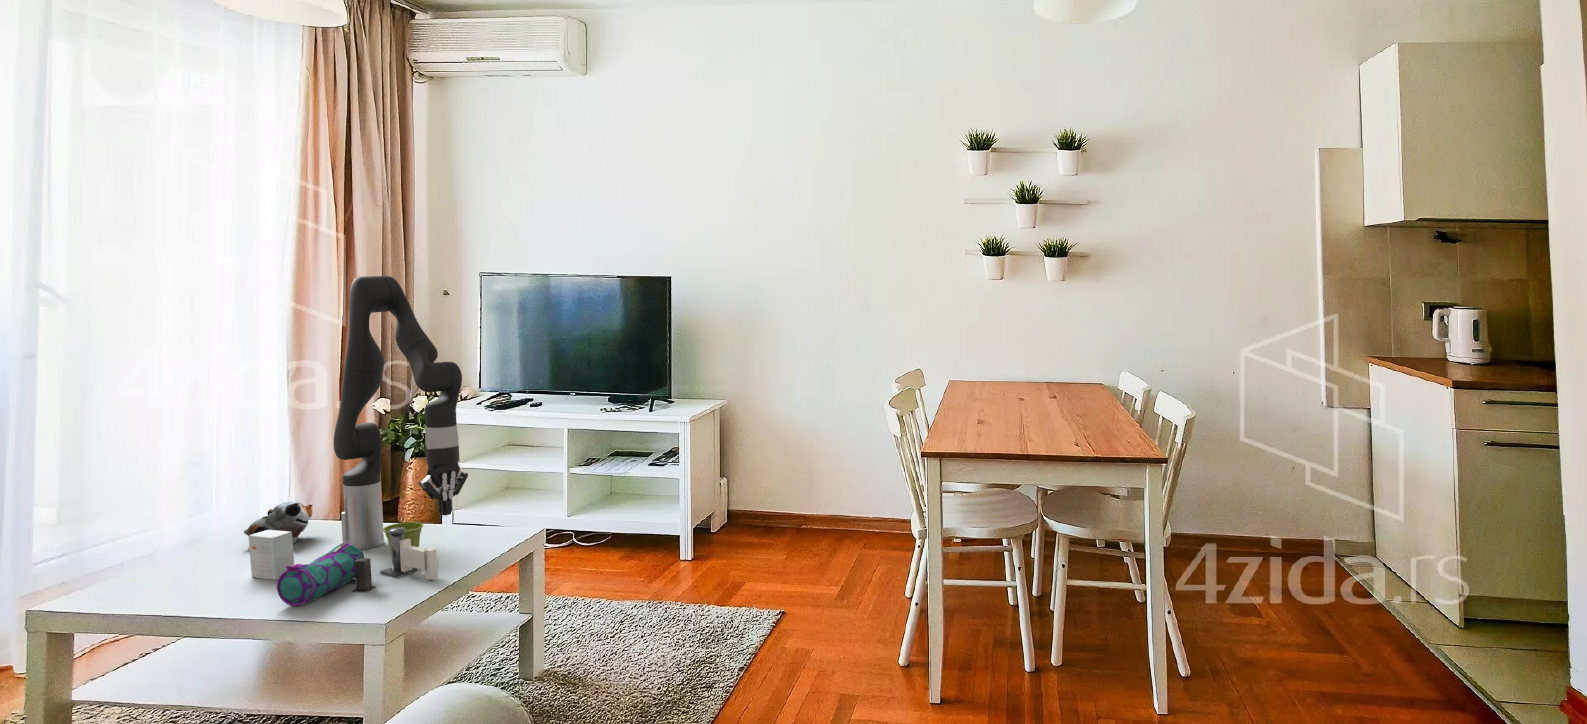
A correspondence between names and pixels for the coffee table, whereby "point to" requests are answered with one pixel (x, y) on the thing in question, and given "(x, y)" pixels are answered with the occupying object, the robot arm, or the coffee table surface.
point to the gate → (418, 559)
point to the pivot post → (396, 554)
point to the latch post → (363, 575)
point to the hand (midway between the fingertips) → (445, 514)
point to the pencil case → (318, 575)
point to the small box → (270, 553)
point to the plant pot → (407, 532)
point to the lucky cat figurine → (284, 519)
